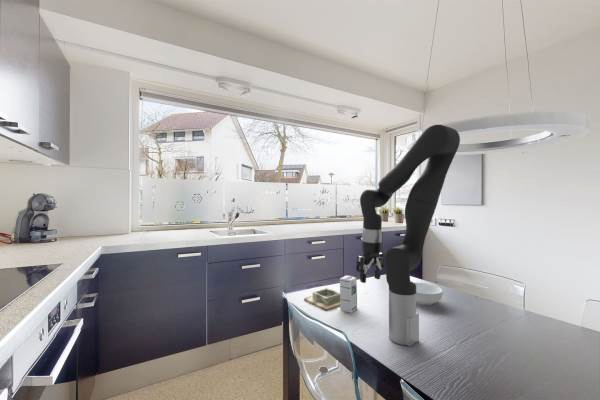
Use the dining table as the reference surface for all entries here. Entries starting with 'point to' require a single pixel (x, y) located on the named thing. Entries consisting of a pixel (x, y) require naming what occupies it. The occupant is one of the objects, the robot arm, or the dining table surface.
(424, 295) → the cereal bowl
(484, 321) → the dining table surface
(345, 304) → the syrup box
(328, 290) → the socket
